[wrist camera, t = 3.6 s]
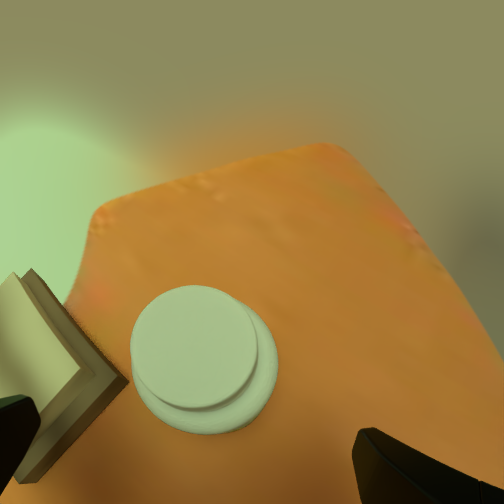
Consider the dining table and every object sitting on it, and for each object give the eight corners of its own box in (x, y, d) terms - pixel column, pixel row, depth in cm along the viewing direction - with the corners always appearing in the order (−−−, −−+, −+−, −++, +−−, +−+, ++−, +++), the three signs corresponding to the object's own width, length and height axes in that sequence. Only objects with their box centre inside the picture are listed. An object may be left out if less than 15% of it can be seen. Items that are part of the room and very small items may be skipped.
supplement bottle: (173, 347, 19) (113, 266, 11) (262, 341, 20) (273, 254, 11) (176, 435, 16) (103, 431, 8) (272, 430, 17) (297, 427, 8)
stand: (35, 482, 13) (-1, 484, 10) (-33, 369, 17) (-65, 354, 13) (129, 382, 18) (103, 368, 14) (43, 280, 21) (17, 253, 18)
